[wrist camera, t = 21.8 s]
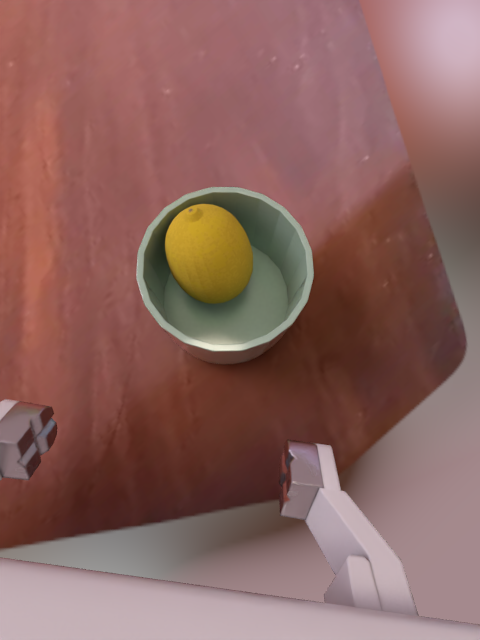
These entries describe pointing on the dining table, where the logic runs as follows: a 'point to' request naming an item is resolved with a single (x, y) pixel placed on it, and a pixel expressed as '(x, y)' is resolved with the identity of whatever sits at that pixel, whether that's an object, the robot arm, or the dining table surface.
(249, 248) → the lemon
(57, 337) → the dining table surface
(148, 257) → the cup
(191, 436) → the dining table surface
